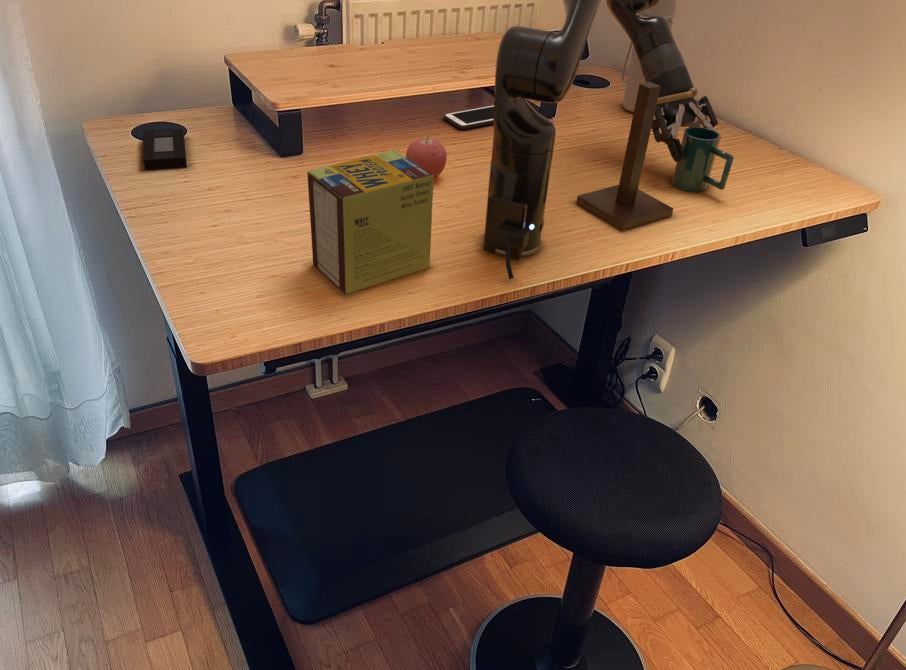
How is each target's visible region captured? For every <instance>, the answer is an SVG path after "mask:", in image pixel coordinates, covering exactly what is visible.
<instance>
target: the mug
mask: <svg viewBox="0 0 906 670" xmlns="http://www.w3.org/2000/svg"><path fill="white" fill-rule="evenodd" d="M721 138H722V136H721V133H720V132H718V131H716V130H714V129H709V128H704V127H703V126H701V127H690V128H689V127H686V128H685V129H684V131H683V134H682V138H681V141H680V143H681V146H682V148H683V151H684V153H685V158H684V159H682V160H681V161H678V162H675V166H674V171H673V174H672V180H671V183H672V185H673V186H674V187H675V188H677V189H679V190H681V191H685V192H690V193H691V192H693V193H697V192H703V191H705V190H706V189H707V188H708V187H707V186H708V185H710V186H712V187H714V188H716V189H718V190H720V191H723V190H725V189H726V185H727V182H728V178H729V176H730V172H731V168H732V165H733V162H734V159H735V158H734V155H732V154H731V153H728V152H726V151H724V150H721V149H719V145H720V141H721ZM716 156H717V157H719V158H721V159H723V160H725V163H724V167H723V170H722V174H721V178H720V181H718V180H716V179H714V178H712V177H711V174H712V171H713V167H714V163H715V160H716Z"/></svg>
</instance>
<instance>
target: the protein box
mask: <svg viewBox="0 0 906 670" xmlns="http://www.w3.org/2000/svg"><path fill="white" fill-rule="evenodd" d="M434 180H435V178H434V174H432V173H431V172H429V171H428V170H426V169H424V168H423V167H421V166H420V165H418V164H416V163H415V162H413V161H412V160H410V159H409V158H407V157H406V155H404V154H402V153H401V152H400V151H398V150H396V149H392V150H389V151H384V152H380V153H377V154H373V155H368V156H362V157H360V158H355V159H350V160H346V161H343V162H338V163H334V164H330V165H326V166H322V167H317V168H314V169H310V170H308V171H307V188H308V189H307V190H308V203H309V205H308V207H309V220H310V235H311V250H312V251H311V252H312V265H313V267H315V268H316V269H317V270H318V271H319V272H321V273H322V274H323V276H324V277H326V278H327V279H328V280H329V281H330V282H331V283H332V284H334V285H335V286H336V287H337V288H338V289H339V290H340V291H341V292H342V293H343V294H345V295H348V294H352V293H354V292H358V291H362V290H364V289H368V288H371V287H373V286H376V285H379V284H383V283H386V282H389V281H392V280H395V279H399V278H402V277H405V276H408V275H411V274H414V273H418V272H421V271H423V270H426V269H429V268H430V264H431V244H432V221H433V220H432V219H433V201H434V200H433V198H434Z"/></svg>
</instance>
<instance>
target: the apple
mask: <svg viewBox="0 0 906 670" xmlns="http://www.w3.org/2000/svg"><path fill="white" fill-rule="evenodd" d="M447 155H448V153H447V150H446V147H445V146H444V145H443V143H442V142H440V141H439V140H437V139H435V138H431V137H430V136H429V135H428V136H427V137H422V138H417V139H416V140H414V141H412V142H411V143H410V144H409V145H408V147H407V149H406V153H405V156H406V157H407V158H409V159H410V160H412V161H413V162H415V163H416V164H418V165H420V166H421V167H423V168H424V169H426V170H428V171H429V172H431V173H432V174H434V179H436V178H437V177H439V176H440V175H441V173H442V172H443V171H444V169H445V167H446V164H447V160H448V158H447V157H448V156H447Z"/></svg>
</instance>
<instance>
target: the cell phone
mask: <svg viewBox="0 0 906 670" xmlns="http://www.w3.org/2000/svg"><path fill="white" fill-rule="evenodd" d="M493 115H494V104H491V105H486V106H480V107H474V108H469V109H468V108H467V109H465V110H464V109H463V110H458V111H452V112H446V113H444V114H443V119H444V120H445V121H447V122H448V123H450V124H452V125H453V126H454V127H456V128H458V129H460V130H467V129H468V130H469V129H472V128H478V127H483V126H488V125H493Z"/></svg>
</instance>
